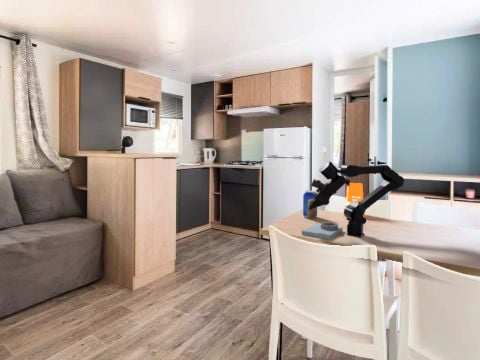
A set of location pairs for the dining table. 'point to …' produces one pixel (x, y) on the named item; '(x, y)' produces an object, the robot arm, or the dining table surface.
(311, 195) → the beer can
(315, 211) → the walnut peg
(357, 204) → the robot arm
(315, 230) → the slate board
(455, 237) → the dining table surface
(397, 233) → the dining table surface
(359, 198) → the orange juice
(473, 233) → the dining table surface
